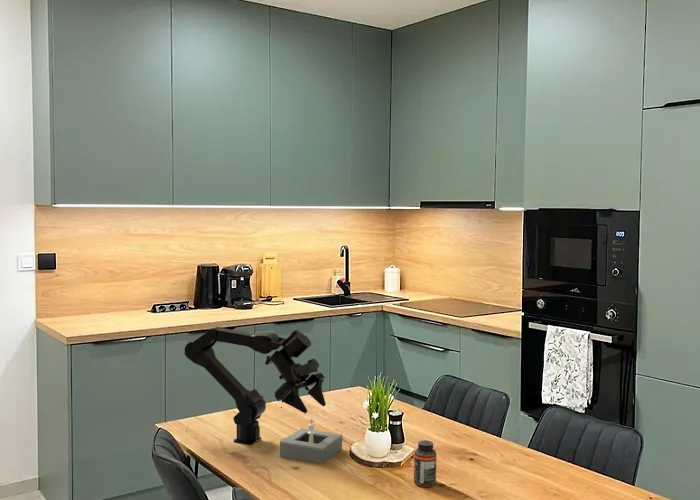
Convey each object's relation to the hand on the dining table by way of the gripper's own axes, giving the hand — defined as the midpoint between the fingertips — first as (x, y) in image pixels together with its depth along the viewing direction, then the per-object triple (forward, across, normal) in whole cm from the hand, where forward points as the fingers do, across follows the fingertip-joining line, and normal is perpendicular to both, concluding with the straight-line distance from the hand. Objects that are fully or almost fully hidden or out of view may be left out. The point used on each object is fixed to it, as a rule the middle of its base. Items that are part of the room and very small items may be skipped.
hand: (315, 409), depth 208 cm
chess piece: (+8, 0, +10) cm, 13 cm away
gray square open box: (+9, 0, +11) cm, 14 cm away
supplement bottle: (+36, -1, -17) cm, 40 cm away
